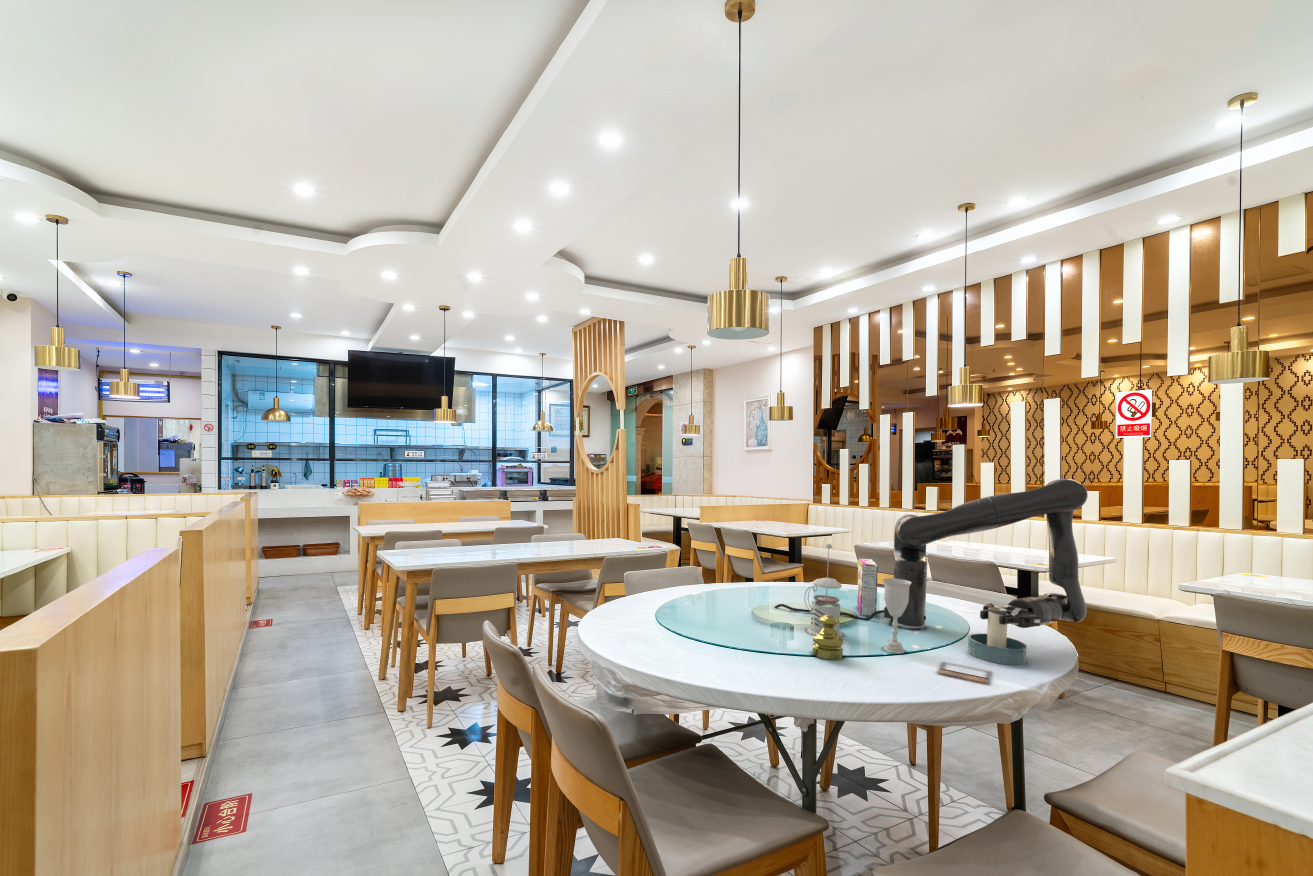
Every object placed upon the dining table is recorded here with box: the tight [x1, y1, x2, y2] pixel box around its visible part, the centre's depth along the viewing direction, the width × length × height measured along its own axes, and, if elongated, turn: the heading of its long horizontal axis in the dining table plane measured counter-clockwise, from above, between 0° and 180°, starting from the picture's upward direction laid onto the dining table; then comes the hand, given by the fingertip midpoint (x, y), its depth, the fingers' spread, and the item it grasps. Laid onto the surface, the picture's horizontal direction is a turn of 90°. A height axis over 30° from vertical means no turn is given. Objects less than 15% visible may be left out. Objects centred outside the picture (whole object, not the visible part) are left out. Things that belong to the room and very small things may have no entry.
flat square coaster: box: [938, 668, 989, 685], centre depth 146 cm, size 10×10×1 cm
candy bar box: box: [856, 558, 879, 618], centre depth 200 cm, size 11×5×16 cm, turn 168°
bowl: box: [967, 632, 1027, 666], centre depth 158 cm, size 13×13×4 cm
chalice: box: [882, 577, 911, 655], centre depth 161 cm, size 7×7×18 cm
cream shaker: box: [986, 606, 1008, 648], centre depth 158 cm, size 4×4×12 cm
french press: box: [803, 543, 844, 638], centre depth 175 cm, size 10×12×25 cm
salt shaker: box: [811, 614, 845, 661], centre depth 154 cm, size 7×7×10 cm
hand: (991, 617), depth 157 cm, fingers closed on cream shaker, 4 cm apart
